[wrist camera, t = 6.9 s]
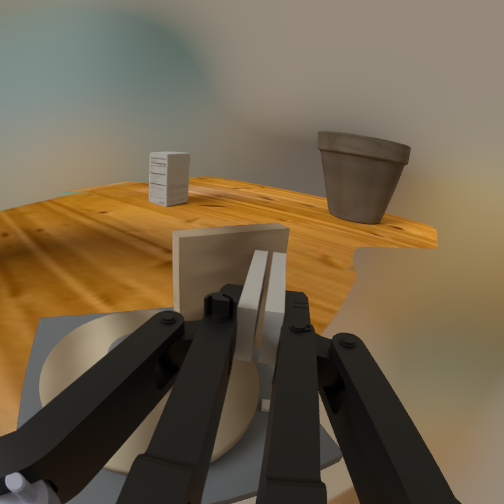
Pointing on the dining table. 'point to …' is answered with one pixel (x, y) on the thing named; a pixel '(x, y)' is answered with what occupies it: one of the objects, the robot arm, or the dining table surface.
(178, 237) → the dial
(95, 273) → the dining table surface
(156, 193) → the supplement box
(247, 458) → the dial plate
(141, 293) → the dining table surface
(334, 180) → the plant pot
